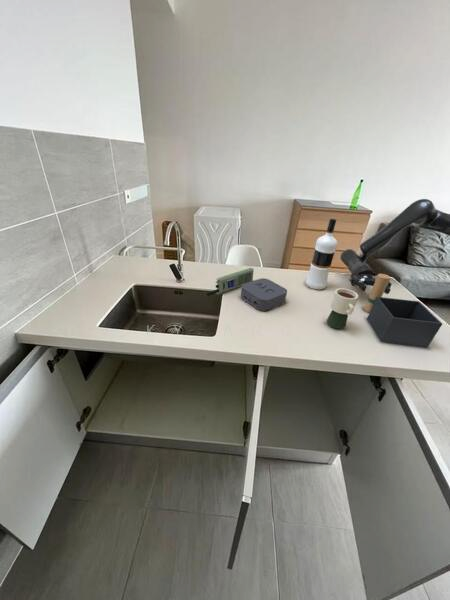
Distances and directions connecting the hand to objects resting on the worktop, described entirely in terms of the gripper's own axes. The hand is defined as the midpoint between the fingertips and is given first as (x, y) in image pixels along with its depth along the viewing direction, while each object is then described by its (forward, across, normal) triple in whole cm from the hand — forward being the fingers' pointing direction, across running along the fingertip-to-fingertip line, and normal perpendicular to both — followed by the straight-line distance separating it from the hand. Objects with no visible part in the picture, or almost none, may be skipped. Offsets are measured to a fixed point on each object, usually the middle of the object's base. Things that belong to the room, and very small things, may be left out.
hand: (376, 290), depth 92 cm
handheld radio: (-4, -56, +9) cm, 57 cm away
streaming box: (+2, -42, +9) cm, 43 cm away
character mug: (+14, -16, +9) cm, 23 cm away
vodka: (-16, -18, +9) cm, 26 cm away
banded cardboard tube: (+1, 0, +8) cm, 9 cm away
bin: (+14, +4, +8) cm, 17 cm away
